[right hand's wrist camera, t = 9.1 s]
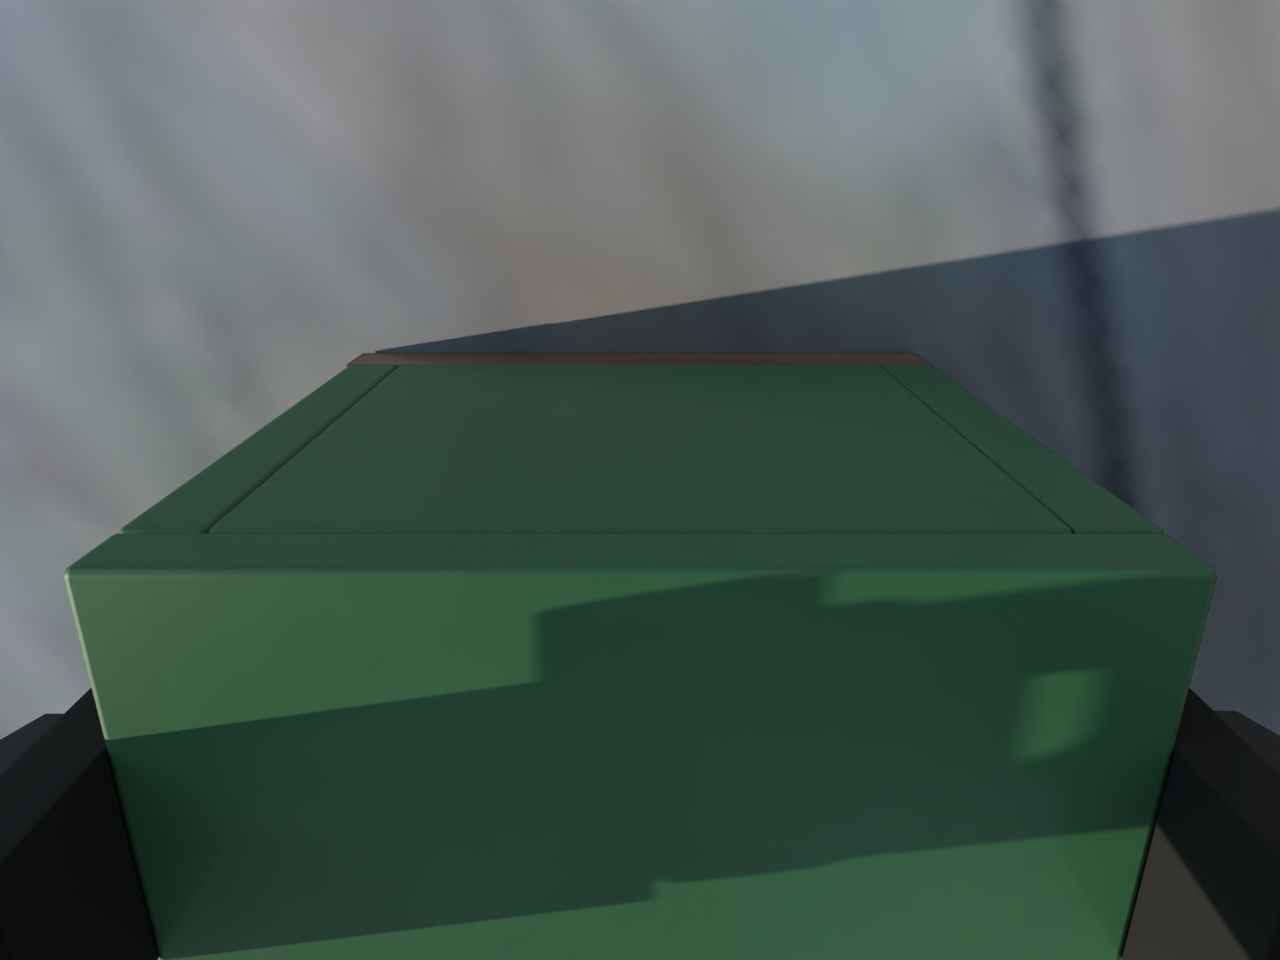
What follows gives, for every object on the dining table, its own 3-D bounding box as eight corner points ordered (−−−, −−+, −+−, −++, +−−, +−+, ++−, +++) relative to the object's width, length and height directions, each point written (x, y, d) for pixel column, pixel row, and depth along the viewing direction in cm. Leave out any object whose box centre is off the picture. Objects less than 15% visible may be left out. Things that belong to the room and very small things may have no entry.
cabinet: (841, 1026, 22) (968, 1568, 14) (436, 1027, 22) (310, 1569, 14) (916, 353, 16) (1225, 568, 8) (362, 353, 16) (55, 568, 8)
